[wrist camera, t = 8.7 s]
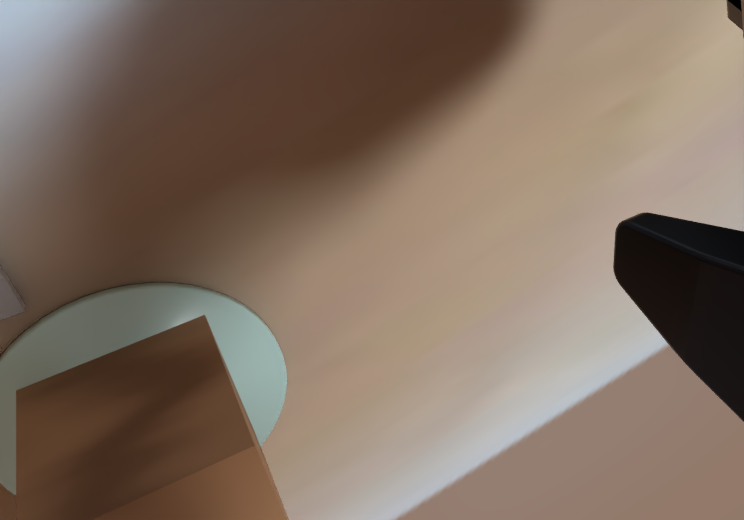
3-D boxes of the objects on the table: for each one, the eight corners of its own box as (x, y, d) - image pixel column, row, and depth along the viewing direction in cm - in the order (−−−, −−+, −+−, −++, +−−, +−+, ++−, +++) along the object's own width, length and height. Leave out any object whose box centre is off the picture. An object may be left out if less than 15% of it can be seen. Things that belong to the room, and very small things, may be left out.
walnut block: (204, 314, 22) (254, 445, 17) (254, 430, 26) (306, 565, 21) (16, 390, 21) (16, 554, 16) (96, 502, 24) (115, 663, 20)
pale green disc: (240, 237, 22) (243, 243, 21) (309, 434, 28) (313, 441, 27) (-93, 364, 19) (-94, 372, 19) (62, 549, 25) (63, 558, 25)
